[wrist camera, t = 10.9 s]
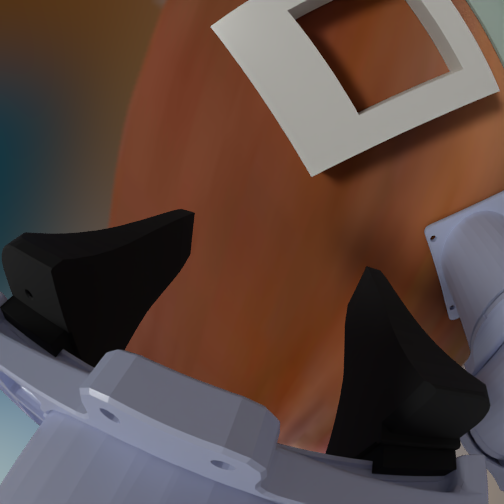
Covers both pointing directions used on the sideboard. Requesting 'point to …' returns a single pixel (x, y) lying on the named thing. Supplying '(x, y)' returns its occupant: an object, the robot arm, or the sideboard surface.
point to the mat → (491, 22)
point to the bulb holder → (330, 90)
